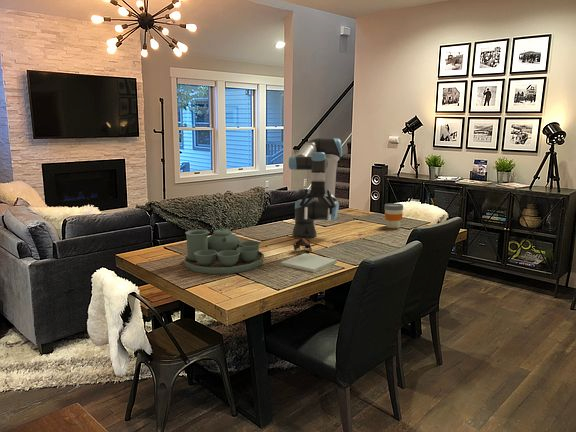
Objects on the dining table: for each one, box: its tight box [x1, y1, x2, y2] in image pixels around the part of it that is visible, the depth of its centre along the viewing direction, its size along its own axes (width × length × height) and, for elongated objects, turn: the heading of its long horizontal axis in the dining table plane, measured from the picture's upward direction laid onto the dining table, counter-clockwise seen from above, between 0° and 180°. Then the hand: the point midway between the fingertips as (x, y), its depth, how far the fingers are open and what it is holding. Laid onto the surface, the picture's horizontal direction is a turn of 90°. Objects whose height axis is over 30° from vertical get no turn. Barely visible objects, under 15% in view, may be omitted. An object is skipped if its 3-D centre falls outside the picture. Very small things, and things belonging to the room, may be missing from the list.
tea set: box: [183, 227, 265, 275], centre depth 234 cm, size 40×40×16 cm
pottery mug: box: [292, 238, 313, 254], centre depth 255 cm, size 12×10×8 cm
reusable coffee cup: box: [383, 202, 404, 229], centre depth 313 cm, size 13×13×15 cm
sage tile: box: [280, 253, 338, 273], centre depth 231 cm, size 20×20×2 cm
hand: (317, 219), depth 253 cm, fingers open, 13 cm apart
